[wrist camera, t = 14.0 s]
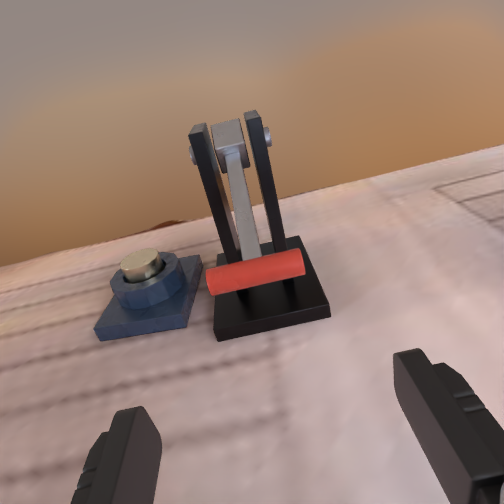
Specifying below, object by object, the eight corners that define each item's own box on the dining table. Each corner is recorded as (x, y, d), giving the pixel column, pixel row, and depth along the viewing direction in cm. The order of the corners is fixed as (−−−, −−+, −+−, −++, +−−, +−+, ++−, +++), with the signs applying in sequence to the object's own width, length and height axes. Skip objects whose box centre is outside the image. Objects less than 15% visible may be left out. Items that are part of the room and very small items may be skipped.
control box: (186, 327, 29) (172, 294, 27) (100, 341, 30) (82, 311, 28) (203, 265, 37) (193, 238, 36) (136, 278, 38) (123, 252, 37)
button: (159, 281, 30) (152, 265, 30) (122, 288, 31) (114, 272, 30) (168, 260, 34) (162, 245, 33) (134, 267, 34) (127, 252, 33)
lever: (306, 282, 20) (304, 262, 18) (216, 303, 20) (204, 285, 18) (264, 138, 27) (260, 112, 25) (199, 155, 27) (189, 130, 25)
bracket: (331, 317, 26) (301, 115, 19) (217, 342, 26) (147, 154, 19) (301, 245, 36) (274, 99, 29) (220, 264, 37) (175, 124, 30)
